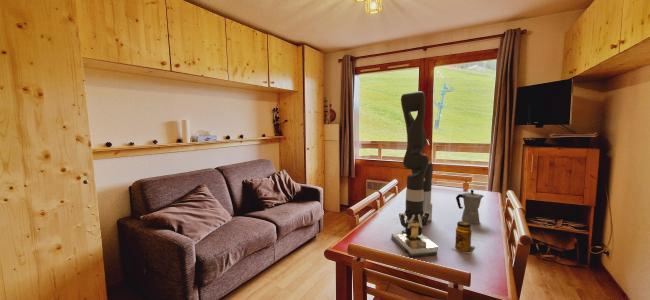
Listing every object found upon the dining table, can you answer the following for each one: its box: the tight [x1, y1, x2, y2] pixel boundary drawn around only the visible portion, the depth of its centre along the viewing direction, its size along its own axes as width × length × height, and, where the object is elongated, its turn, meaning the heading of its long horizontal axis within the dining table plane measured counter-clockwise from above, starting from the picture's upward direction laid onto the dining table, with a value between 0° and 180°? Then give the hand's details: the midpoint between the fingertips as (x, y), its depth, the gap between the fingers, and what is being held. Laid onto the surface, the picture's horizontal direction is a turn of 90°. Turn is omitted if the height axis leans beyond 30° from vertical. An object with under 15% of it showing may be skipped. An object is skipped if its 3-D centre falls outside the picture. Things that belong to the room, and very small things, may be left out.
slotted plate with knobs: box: [391, 229, 439, 258], centre depth 123 cm, size 12×20×6 cm, turn 10°
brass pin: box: [409, 220, 420, 241], centre depth 123 cm, size 5×5×10 cm
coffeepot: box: [455, 189, 484, 225], centre depth 152 cm, size 15×9×18 cm, turn 92°
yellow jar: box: [452, 220, 475, 255], centre depth 120 cm, size 7×8×12 cm
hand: (413, 235), depth 123 cm, fingers open, 4 cm apart
